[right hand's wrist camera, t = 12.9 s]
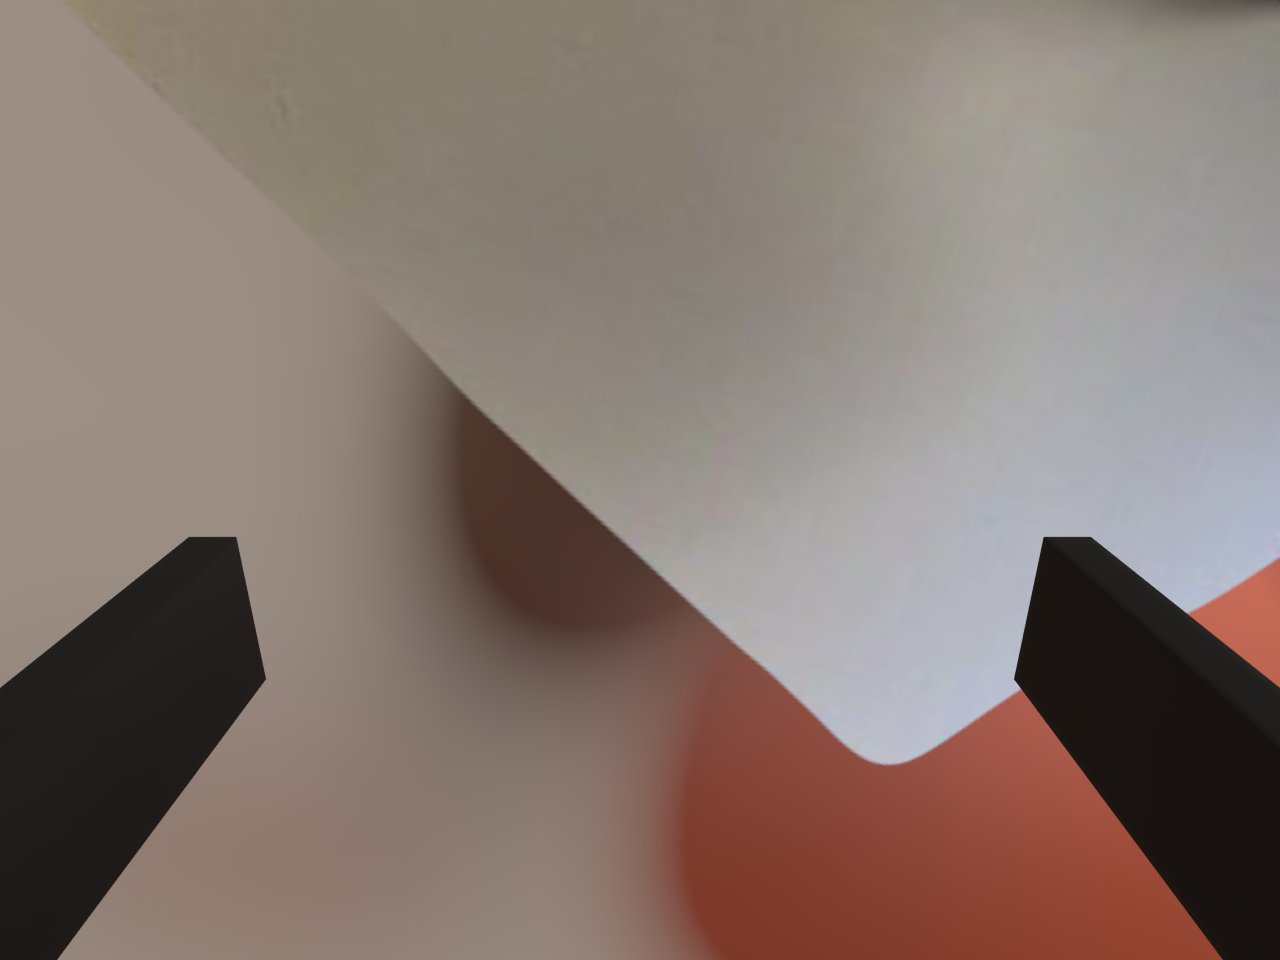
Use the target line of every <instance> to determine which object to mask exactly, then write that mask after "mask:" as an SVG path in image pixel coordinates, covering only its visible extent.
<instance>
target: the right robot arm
mask: <svg viewBox="0 0 1280 960" xmlns="http://www.w3.org/2000/svg"><path fill="white" fill-rule="evenodd" d="M265 680H266V677H265V672H264V667H263V663H262V658H261V653H260V648H259V644H258V639H257V634H256V629H255V624H254V620H253V615H252V610H251V606H250V601H249V596H248V591H247V586H246V582H245V577H244V572H243V567H242V562H241V557H240V553H239V548H238V543H237V538H236V537H188V538H187V539H186V540H185V541H184V542H182V543H181V544H180V545H178V546H177V547H176V548H175V549H174V550H172V551H171V552H170V553H168V554H167V555H166V556H165V557H163V558H162V559H161V560H160V561H159V562H157V563H156V564H155V565H153V566H152V567H151V568H150V569H148V570H147V571H146V572H145V573H143V574H142V575H141V576H140V577H138V578H137V579H136V580H135V581H133V582H132V583H131V584H130V585H128V586H127V587H126V588H125V589H123V590H122V591H121V592H120V593H118V594H117V595H116V596H115V597H113V598H112V599H111V600H110V601H108V602H107V603H106V604H105V605H103V606H102V607H101V608H100V609H98V610H97V611H96V612H95V613H93V614H92V615H91V616H90V617H88V618H87V619H86V620H85V621H83V622H82V623H81V624H80V625H78V626H77V627H76V628H75V629H73V630H72V631H71V632H70V633H68V634H67V635H66V636H65V637H63V638H62V639H61V640H60V641H58V642H57V643H56V644H55V645H53V646H52V647H51V648H50V649H48V650H47V651H46V652H45V653H43V654H42V655H41V656H40V657H38V658H37V659H36V660H35V661H33V662H32V663H31V664H29V665H28V666H27V667H26V668H25V669H23V670H22V671H21V672H19V673H18V674H17V675H16V676H15V677H13V678H12V679H11V680H9V681H8V682H7V683H6V684H4V685H3V686H2V687H1V688H0V960H57V959H58V958H59V956H60V955H61V954H62V952H63V951H64V950H65V948H66V947H67V946H68V944H69V943H70V942H71V940H72V939H73V938H74V936H75V935H76V934H77V932H78V931H79V930H80V928H81V927H82V926H83V924H84V923H85V922H86V920H87V919H88V917H89V916H90V915H91V913H92V912H93V911H94V909H95V908H96V907H97V905H98V904H99V903H100V901H101V900H102V899H103V897H104V896H105V895H106V893H107V892H108V891H109V889H110V888H111V887H112V885H113V884H114V883H115V881H116V880H117V878H118V877H119V876H120V875H121V873H122V872H123V870H124V869H125V868H126V866H127V865H128V864H129V862H130V861H131V860H132V858H133V857H134V856H135V854H136V853H137V852H138V850H139V849H140V848H141V846H142V845H143V844H144V842H145V841H146V840H147V838H148V837H149V835H150V834H151V833H152V832H153V830H154V829H155V827H156V826H157V825H158V823H159V822H160V821H161V819H162V818H163V817H164V815H165V814H166V813H167V811H168V810H169V809H170V807H171V806H172V805H173V803H174V802H175V801H176V799H177V798H178V797H179V795H180V794H181V793H182V791H183V790H184V789H185V787H186V786H187V785H188V783H189V782H190V781H191V779H192V778H193V776H194V775H195V774H196V772H197V771H198V770H199V768H200V767H201V766H202V764H203V763H204V762H205V760H206V759H207V758H208V756H209V755H210V754H211V752H212V751H213V750H214V748H215V747H216V746H217V744H218V743H219V742H220V740H221V739H222V737H223V736H224V735H225V734H226V732H227V731H228V729H229V728H230V727H231V725H232V724H233V723H234V721H235V720H236V719H237V717H238V716H239V715H240V713H241V712H242V711H243V709H244V708H245V707H246V705H247V704H248V703H249V701H250V700H251V699H252V697H253V696H254V695H255V693H256V692H257V691H258V689H259V688H260V687H261V685H262V684H263V682H264V681H265ZM1014 680H1015V681H1016V682H1017V684H1018V685H1019V687H1020V688H1021V689H1022V691H1023V692H1024V693H1025V695H1026V696H1027V697H1028V699H1029V700H1030V701H1031V703H1032V704H1033V705H1034V707H1035V708H1036V709H1037V711H1038V712H1039V713H1040V715H1041V716H1042V717H1043V719H1044V720H1045V721H1046V723H1047V724H1048V725H1049V727H1050V728H1051V729H1052V731H1053V732H1054V733H1055V735H1056V736H1057V738H1058V739H1059V740H1060V742H1061V743H1062V744H1063V746H1064V747H1065V748H1066V750H1067V751H1068V752H1069V754H1070V755H1071V756H1072V758H1073V759H1074V760H1075V762H1076V763H1077V764H1078V766H1079V767H1080V768H1081V770H1082V771H1083V772H1084V774H1085V775H1086V776H1087V778H1088V779H1089V781H1090V782H1091V783H1092V785H1093V786H1094V787H1095V789H1096V790H1097V791H1098V793H1099V794H1100V795H1101V797H1102V798H1103V799H1104V801H1105V802H1106V803H1107V805H1108V806H1109V807H1110V809H1111V810H1112V811H1113V813H1114V814H1115V815H1116V817H1117V818H1118V819H1119V821H1120V822H1121V823H1122V825H1123V826H1124V827H1125V829H1126V830H1127V832H1128V833H1129V834H1130V836H1131V837H1132V838H1133V840H1134V841H1135V842H1136V844H1137V845H1138V846H1139V848H1140V849H1141V850H1142V852H1143V853H1144V854H1145V856H1146V857H1147V858H1148V860H1149V861H1150V862H1151V864H1152V865H1153V866H1154V868H1155V869H1156V870H1157V872H1158V873H1159V875H1160V876H1161V877H1162V879H1163V880H1164V881H1165V883H1166V884H1167V885H1168V887H1169V888H1170V889H1171V891H1172V892H1173V893H1174V895H1175V896H1176V897H1177V899H1178V900H1179V901H1180V903H1181V904H1182V905H1183V907H1184V908H1185V909H1186V911H1187V912H1188V913H1189V915H1190V916H1191V917H1192V919H1193V920H1194V921H1195V923H1196V924H1197V925H1198V927H1199V928H1200V929H1201V931H1202V932H1203V934H1204V935H1205V936H1206V938H1207V939H1208V940H1209V942H1210V943H1211V944H1212V946H1213V947H1214V948H1215V950H1216V951H1217V952H1218V954H1219V955H1220V956H1221V958H1222V959H1223V960H1280V688H1279V687H1278V686H1277V685H1276V684H1274V683H1273V682H1272V681H1271V680H1269V679H1268V678H1267V677H1266V676H1264V675H1263V674H1262V673H1261V672H1259V671H1258V670H1257V669H1256V668H1254V667H1253V666H1252V665H1251V664H1249V663H1248V662H1247V661H1245V660H1244V659H1243V658H1242V657H1240V656H1239V655H1238V654H1237V653H1235V652H1234V651H1233V650H1232V649H1230V648H1229V647H1228V646H1227V645H1225V644H1224V643H1223V642H1222V641H1220V640H1219V639H1218V638H1217V637H1215V636H1214V635H1213V634H1212V633H1210V632H1209V631H1208V630H1207V629H1205V628H1204V627H1203V626H1202V625H1200V624H1199V623H1198V622H1197V621H1195V620H1194V619H1193V618H1192V617H1190V616H1189V615H1188V614H1187V613H1185V612H1184V611H1183V610H1182V609H1180V608H1179V607H1178V606H1177V605H1175V604H1174V603H1173V602H1172V601H1170V600H1169V599H1168V598H1167V597H1165V596H1164V595H1163V594H1162V593H1160V592H1159V591H1158V590H1157V589H1155V588H1154V587H1153V586H1152V585H1150V584H1149V583H1148V582H1147V581H1145V580H1144V579H1143V578H1142V577H1140V576H1139V575H1138V574H1137V573H1135V572H1134V571H1133V570H1132V569H1130V568H1129V567H1128V566H1127V565H1125V564H1124V563H1123V562H1122V561H1120V560H1119V559H1118V558H1117V557H1115V556H1114V555H1113V554H1112V553H1110V552H1109V551H1108V550H1107V549H1105V548H1104V547H1103V546H1102V545H1100V544H1099V543H1098V542H1097V541H1095V540H1094V539H1093V538H1092V537H1044V538H1043V543H1042V548H1041V553H1040V557H1039V562H1038V567H1037V572H1036V577H1035V581H1034V586H1033V591H1032V596H1031V600H1030V605H1029V610H1028V615H1027V620H1026V624H1025V629H1024V634H1023V639H1022V644H1021V648H1020V653H1019V658H1018V663H1017V667H1016V672H1015V677H1014Z"/></svg>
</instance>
